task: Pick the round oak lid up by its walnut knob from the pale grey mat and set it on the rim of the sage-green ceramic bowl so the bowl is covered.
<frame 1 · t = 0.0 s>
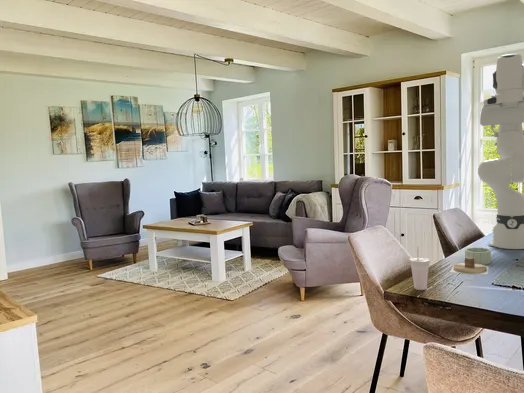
hand: (510, 136, 166), 48 cm above the table, tool pointing down, fingers open, 8 cm apart
bowl: (477, 262, 173), on the table
smoothie: (420, 288, 147), on the table
lid: (469, 269, 163), point 1 cm above the table, touching mat
mat: (469, 270, 163), on the table
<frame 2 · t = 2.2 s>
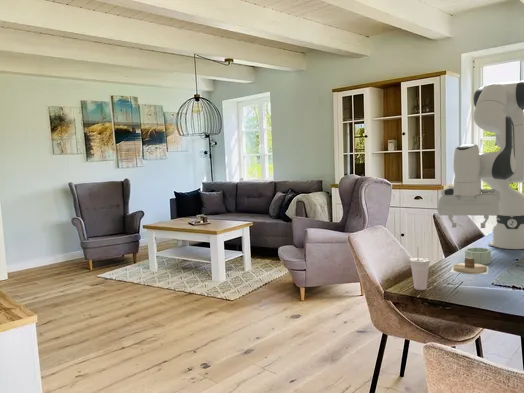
hand: (468, 227, 162), 16 cm above the table, tool pointing down, fingers open, 8 cm apart
nothing on the table moved.
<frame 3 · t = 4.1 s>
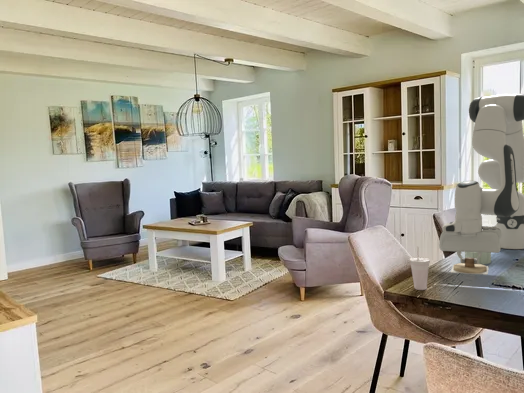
hand: (469, 263, 163), 3 cm above the table, tool pointing down, fingers closed on lid, 3 cm apart
lid: (469, 269, 163), point 1 cm above the table, touching gripper, mat
everything else where it was.
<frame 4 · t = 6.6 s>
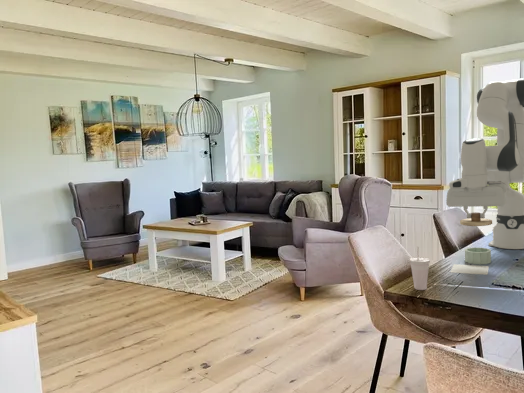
hand: (475, 217, 170), 18 cm above the table, tool pointing down, fingers closed on lid, 3 cm apart
lid: (476, 223, 170), point 16 cm above the table, touching gripper
everything else where it was.
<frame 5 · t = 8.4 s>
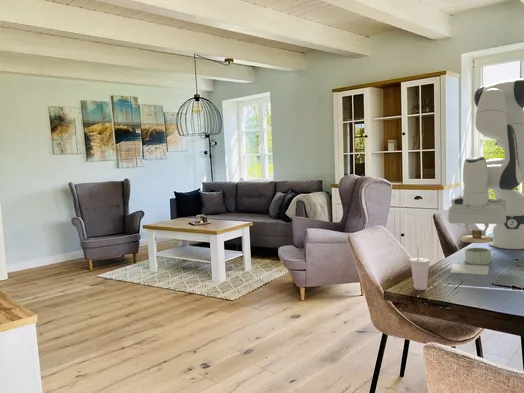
hand: (476, 235, 172), 11 cm above the table, tool pointing down, fingers closed on lid, 3 cm apart
lid: (477, 240, 172), point 9 cm above the table, touching gripper
everything else where it was.
when the fingers open (9 cm above the table, at t = 9.5 s): lid drops 2 cm, resting on bowl.
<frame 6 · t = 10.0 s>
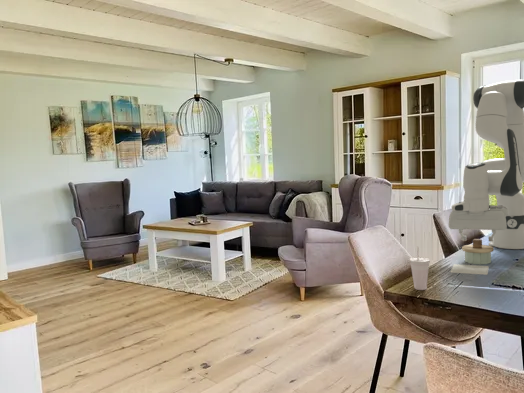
hand: (477, 240, 173), 9 cm above the table, tool pointing down, fingers open, 8 cm apart
lid: (477, 250, 173), point 5 cm above the table, touching bowl
everything else where it was.
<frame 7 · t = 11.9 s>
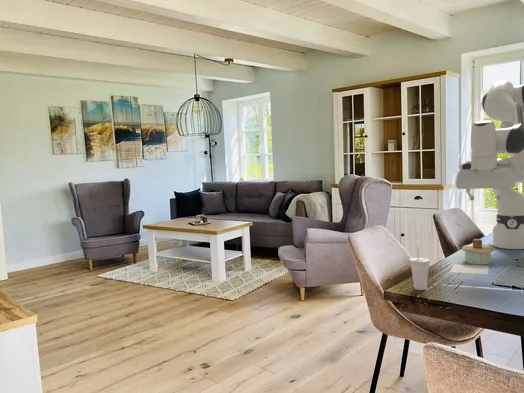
hand: (485, 200, 171), 24 cm above the table, tool pointing down, fingers open, 8 cm apart
nothing on the table moved.
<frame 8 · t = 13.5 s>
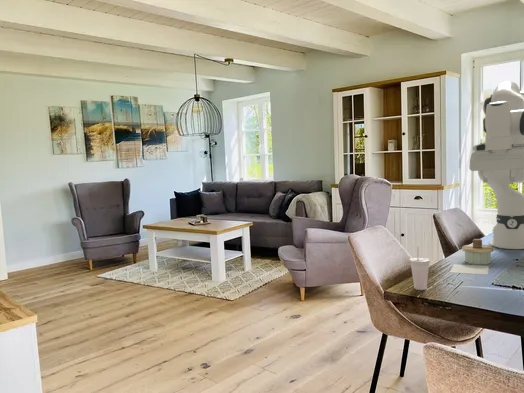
hand: (499, 182, 168), 31 cm above the table, tool pointing down, fingers open, 8 cm apart
nothing on the table moved.
at the end: lid 0.0 cm from the bowl (horizontally); lid point 5.0 cm above the table; lid tilted 0° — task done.
